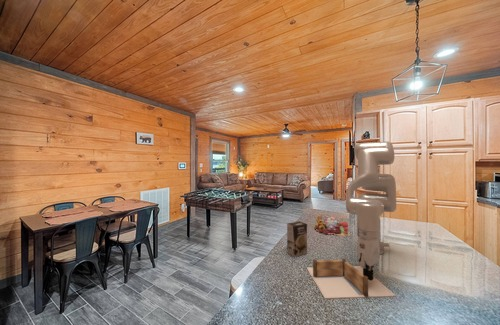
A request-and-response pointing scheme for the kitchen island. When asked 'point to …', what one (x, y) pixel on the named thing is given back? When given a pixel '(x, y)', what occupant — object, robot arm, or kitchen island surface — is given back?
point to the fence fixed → (328, 268)
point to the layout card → (348, 287)
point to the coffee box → (297, 238)
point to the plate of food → (332, 226)
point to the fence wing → (356, 278)
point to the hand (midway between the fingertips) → (368, 278)
